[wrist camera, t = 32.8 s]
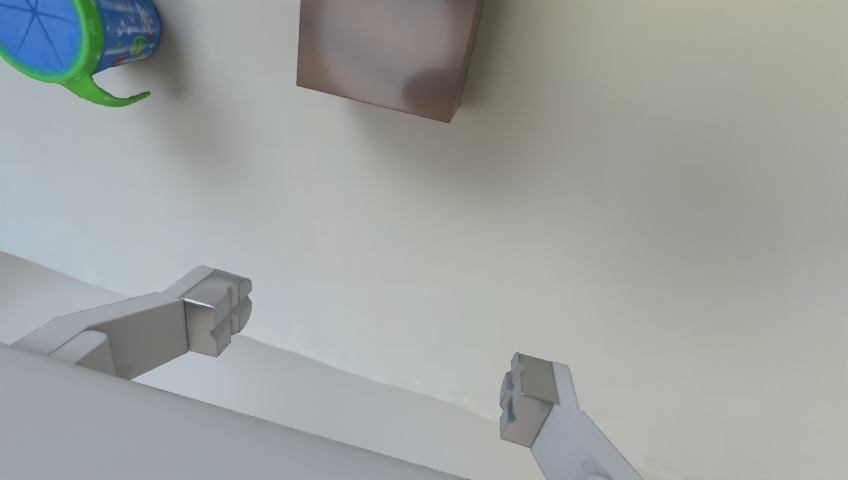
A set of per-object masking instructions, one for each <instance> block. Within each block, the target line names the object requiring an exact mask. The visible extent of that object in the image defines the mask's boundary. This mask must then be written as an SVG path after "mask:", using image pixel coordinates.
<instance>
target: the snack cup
mask: <svg viewBox="0 0 848 480" xmlns="http://www.w3.org/2000/svg"><path fill="white" fill-rule="evenodd" d="M160 30H161V22H160V20H159V19H158V17H157V13H156V10H155V8H154V6H153V5H152V3H151V1H150V0H0V56H1V57H2V58H3V59H4V60H5V61H6V62H7V63H9V64H10V65H11V66H12V67H14V68H15V69H17V70H18V71H20V72H22V73H23V74H25V75H27V76H29V77H31V78H34V79H36V80H39V81H43V82H49V83H57V84H60V85H62V86H64V87H66V88H67V89H68V90H70V91H71V92H73V93H74V94H76V95H78V96H79V97H81V98H84V99H86V100H88V101H91V102H93V103H96V104H100V105H104V106H110V107H123V106H127V105H130V104H132V103H135V102H137V101H139V100H142V99H144V98H146V97H147V96H149V95H151V93H150V92H149V91H148V92H143V93H141V94H139V95H136V96H131V97H129V98H117V97H114V96H112V95H111V94H109V93H108V92H106V91H104V90H103V89H101V88H100V87H98V86H97V85H96V83H95V82H94V81H93V78H92V75H94V74H96V73H98V72H100V71H103V70H105V69H107V68H110V67H116V66H119V65H123V64H127V63H130V62H134V61H138V60H141V59H144V58H146V57H148V56H150V54H151V52H152V51H153V50H154V49H155V48H156V45H157V44H158V41H159V32H160Z"/></svg>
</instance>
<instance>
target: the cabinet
mask: <svg viewBox="0 0 848 480" xmlns="http://www.w3.org/2000/svg"><path fill="white" fill-rule="evenodd" d="M483 4H484V0H301V7H300V26H299V45H298V64H297V83H296V85H297V86H300V87H304V88H308V89H312V90H316V91H320V92H324V93H328V94H332V95H336V96H340V97H345V98H349V99H353V100H357V101H361V102H365V103H369V104H373V105H377V106H381V107H385V108H389V109H393V110H397V111H401V112H405V113H409V114H413V115H417V116H421V117H425V118H429V119H433V120H437V121H442V122H446V123H450V122H451V120H452V118H453V116H454V115H455V113H456V111H457V110H458V108H459V104H460V100H461V95H462V91H463V87H464V83H465V79H466V75H467V71H468V66H469V62H470V58H471V54H472V50H473V46H474V41H475V37H476V33H477V29H478V25H479V21H480V16H481V12H482V8H483Z"/></svg>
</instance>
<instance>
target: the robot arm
mask: <svg viewBox="0 0 848 480" xmlns="http://www.w3.org/2000/svg"><path fill="white" fill-rule="evenodd" d="M251 291H252V283H251V281H250V280H249V279H248V278H245V277H241V276H238V275H235V274H231V273H228V272H225V271H221V270H217V269H214V268H210V267H207V266H198V267H196V268H195V269H193V270H192V271H191V272H189V273H188V274H187V275H185V276H184V277H183V278H181V279H180V280H178V281H177V282H176V283H174V284H173V285H172V286H170V287H169V288H168V289H166V290H165V291H164V292H162V293H157V292H155V293H151V294H147V295H143V296H139V297H135V298H131V299H128V300H123V301H119V302H115V303H112V304H107V305H104V306H99V307H96V308H92V309H88V310H84V311H80V312H76V313H72V314H68V315H64V316H60V317H56V318H54V319H52V320H51V321H49V322H47V323H46V324H44V325H43V326H41V327H39V328H38V329H36V330H34V331H33V332H31V333H30V334H28V335H26V336H25V337H23V338H21V339H20V340H18V341H17V342H15V343H13V344H12V345H7V344H4V343H0V480H469V479H466V478H462V477H459V476H456V475H452V474H449V473H445V472H442V471H439V470H435V469H432V468H428V467H425V466H421V465H418V464H415V463H411V462H408V461H404V460H401V459H398V458H394V457H391V456H387V455H384V454H381V453H377V452H374V451H370V450H367V449H363V448H360V447H357V446H353V445H350V444H346V443H343V442H340V441H336V440H333V439H329V438H325V437H322V436H319V435H316V434H312V433H309V432H305V431H302V430H298V429H295V428H292V427H288V426H285V425H281V424H277V423H274V422H271V421H267V420H264V419H261V418H257V417H254V416H250V415H247V414H243V413H240V412H237V411H233V410H230V409H226V408H223V407H219V406H216V405H212V404H209V403H206V402H202V401H199V400H195V399H192V398H189V397H185V396H181V395H178V394H175V393H172V392H168V391H165V390H161V389H158V388H154V387H151V386H148V385H144V384H141V383H137V382H134V381H130V380H131V379H133V378H135V377H137V376H139V375H141V374H143V373H146V372H148V371H150V370H152V369H154V368H156V367H158V366H160V365H162V364H164V363H166V362H168V361H170V360H173V359H175V358H177V357H179V356H181V355H183V354H185V353H187V352H188V350H189V351H193V352H197V353H200V354H204V355H209V356H213V357H216V358H217V357H218V356H219V355H220V354H221V353H222V351H223V350H224V349H225V348H226V347H227V346H228V345H229V343H230V342H231V335H233V334H236V333H239V332H240V331H241V330H242V329H243V328H244V327H245V325H246V323H247V321H248V319H249V317H250V314H251V310H252V302H251V300H250V299H249V297H248V296H247V295H248V294H249V293H250V292H251ZM500 406H501V408H502V409H503V410H504V411H503V413H502V415H501V417H500V431H501V433H500V434H501V439H503V440H506V441H509V442H512V443H515V444H519V445H522V446H525V447H528V448H531V449H530V450H531V452H532V454H533V456H534V458H535V459H536V461H537V463H538V465H539V467H540V469H541V470H542V472H543V474H544V476H545V478H546V480H644V479H643V478H642V477H641V476H640V475H639V474H638V473H637V471H636V470H635V469H634V468H633V467H632V466H631V465H630V463H629V462H628V461H627V460H626V459H625V458H624V456H623V455H622V454H621V453H620V452H619V451H618V450H617V448H616V447H615V446H614V445H613V444H612V443H611V442H610V440H609V439H608V438H607V437H606V436H605V435H604V434H603V432H602V431H601V430H600V429H599V428H598V427H597V426H596V424H595V423H594V422H593V421H592V420H591V419H590V418H589V416H588V415H587V414H586V413H585V412H583V411H580V410H579V406H578V402H577V397H576V393H575V389H574V385H573V381H572V377H571V373H570V369H569V367H568V366H567V365H564V364H560V363H556V362H552V361H547V360H543V359H539V358H536V357H532V356H528V355H524V354H521V353H517V352H516V353H515V354H514V356H513V358H512V360H511V371H509V372H507V373H506V374H505V377H504V380H503V383H502V387H501V392H500Z"/></svg>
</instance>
